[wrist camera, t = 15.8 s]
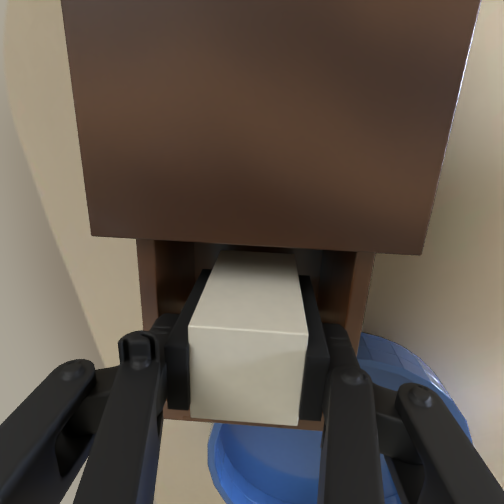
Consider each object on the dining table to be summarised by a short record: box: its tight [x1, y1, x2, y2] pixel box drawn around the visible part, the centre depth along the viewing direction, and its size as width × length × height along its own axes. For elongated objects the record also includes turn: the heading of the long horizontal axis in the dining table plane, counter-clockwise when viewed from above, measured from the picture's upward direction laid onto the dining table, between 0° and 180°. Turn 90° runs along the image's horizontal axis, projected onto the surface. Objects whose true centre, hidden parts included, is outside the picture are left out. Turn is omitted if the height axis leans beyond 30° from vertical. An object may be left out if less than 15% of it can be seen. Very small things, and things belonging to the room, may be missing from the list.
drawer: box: [136, 239, 376, 431], centre depth 19 cm, size 14×11×9 cm
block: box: [188, 250, 309, 426], centre depth 15 cm, size 4×4×8 cm
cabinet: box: [61, 0, 481, 256], centre depth 15 cm, size 14×13×11 cm
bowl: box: [208, 332, 473, 504], centre depth 28 cm, size 20×20×4 cm
